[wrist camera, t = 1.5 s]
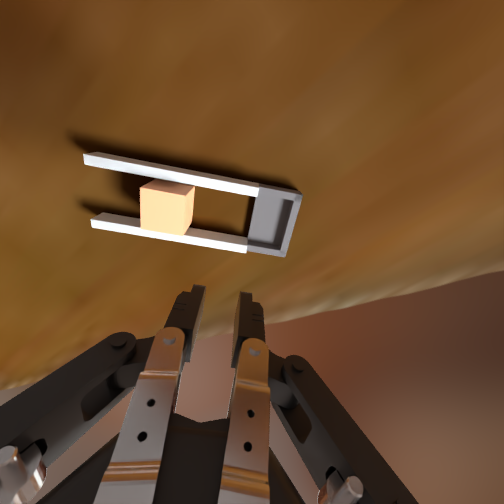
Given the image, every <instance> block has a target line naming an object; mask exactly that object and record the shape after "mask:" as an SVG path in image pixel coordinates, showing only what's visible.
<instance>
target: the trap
mask: <svg viewBox="0 0 504 504" xmlns="http://www.w3.org/2000/svg"><path fill="white" fill-rule="evenodd" d="M302 197H303V195H302V193H301V192H300V191H296V190H291V189H285V188H280V187H275V186H270V185H265V184H260V183H259V191H258V196H257V197H256V198H255V203H254V208H253V213H252V218H251V223H250V228H249V233H248V241H247V250H246V251H251V252H257V253H263V254H269V255H275V256H281V257H285V256H286V252H287V249H288V245H289V242H290V238H291V235H292V231H293V228H294V224H295V221H296V217H297V214H298V210H299V207H300V204H301V200H302Z"/></svg>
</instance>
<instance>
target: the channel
mask: <svg viewBox="0 0 504 504" xmlns="http://www.w3.org/2000/svg"><path fill="white" fill-rule="evenodd" d="M84 163H85V165H90V166H96V167H101V168H106V169H111V170H117V171H122V172H127V173H133V174H138V175H143V176H148V177H154V178H159V179H164V180H169V181H175V182H180V183H185V184H191V185H196V186H201V187H206V188H212V189H217V190H222V191H227V192H233V193H238V194H243V195H249V196H254V197H257V196H258V191H259V183H255V182H250V181H244V180H239V179H234V178H229V177H224V176H219V175H214V174H209V173H203V172H198V171H193V170H188V169H183V168H178V167H173V166H168V165H162V164H157V163H152V162H147V161H142V160H137V159H132V158H126V157H121V156H116V155H111V154H106V153H101V152H93V153H87V154H84ZM91 224H92V227H93V228H99V229H105V230H110V231H116V232H122V233H128V234H134V235H140V236H146V237H152V238H158V239H164V240H170V241H176V242H182V243H188V244H194V245H200V246H206V247H212V248H218V249H224V250H230V251H235V252H241V253H246V250H247V241H248V238H247V237H242V236H236V235H230V234H224V233H219V232H213V231H207V230H201V229H196V228H190V227H188V229H187V230H186V232H185V234H184V235H183V236H179V235H173V234H167V233H161V232H155V231H149V230H144V229H141V219H138V218H132V217H127V216H121V215H115V214H109V213H104V212H103V213H101V214H99V215H97V216H96V217H94V218H92V219H91Z"/></svg>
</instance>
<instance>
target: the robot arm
mask: <svg viewBox="0 0 504 504" xmlns="http://www.w3.org/2000/svg"><path fill="white" fill-rule="evenodd" d="M205 291H206V286H201V285H195V284H194V285H193V288H192V290H191V292H184V291H183V292H182V293H181V294H180V295H178V296H177V298H176V301H175V303H174V305H173V308H172V310H171V312H170V314H169V317H168V319H167V321H166V324H165V326H164V328H163V329H161V330H160V331H158V332H157V334H156V335H155V336H153V337H150V338H145V339H137V340H136V338H135V336H134V335H133V334H131V333H128V332H118V333H115V334H112V335H110V336H108V337H107V338H105V339H104V340H102V341H101V342H99V343H98V344H96V345H95V346H93V347H91V348H90V349H88V350H87V351H85V352H84V353H82V354H81V355H79V356H77V357H76V358H74V359H73V360H71V361H70V362H68V363H67V364H65V365H64V366H62V367H60V368H59V369H57V370H56V371H54V372H53V373H51V374H50V375H48V376H46V377H45V378H43V379H42V380H40V381H39V382H37V383H36V384H34V385H33V386H31V387H29V388H28V389H26V390H25V391H23V392H22V393H21V394H19V395H17V396H16V397H14V398H12V399H11V400H9V401H8V402H6V403H5V404H3V405H2V406H0V504H28V503H29V502H30V500H31V499H32V498H33V497H34V496H35V495H36V494H37V493H38V491H39V489H40V488H41V486H42V485H43V483H44V481H45V478H46V473H47V468H48V466H50V465H51V464H52V463H53V462H54V461H55V460H56V459H57V458H58V457H59V456H61V455H62V454H63V453H64V452H65V451H66V450H67V449H68V448H69V447H70V446H72V445H73V444H74V443H75V442H76V441H77V440H78V439H79V438H80V437H81V436H82V435H84V434H85V433H86V432H87V431H88V430H89V429H90V428H91V427H92V426H93V425H94V424H96V423H97V422H98V421H99V420H100V419H101V418H102V417H103V416H104V415H105V414H107V413H108V412H109V411H110V410H111V409H112V408H113V407H114V406H115V405H116V404H117V403H119V402H120V401H121V400H122V398H124V397H125V396H126V395H127V394H128V393H129V392H130V391H132V389H134V387H135V389H134V392H133V395H132V398H131V401H130V404H129V407H128V410H127V413H126V416H125V419H124V422H123V425H122V428H121V431H120V432H119V433H118V434H117V435H116V436H115V437H113V438H112V439H111V440H110V441H109V442H107V443H106V444H105V445H104V446H103V447H102V448H100V449H99V450H98V451H97V452H96V453H95V454H93V455H92V456H91V457H90V458H89V459H88V460H86V461H85V462H84V463H83V464H82V465H80V467H78V468H77V469H76V470H75V471H73V472H72V473H71V474H70V475H69V476H68V477H66V478H65V479H64V480H63V481H62V482H61V483H59V484H58V485H57V486H56V487H55V488H54V489H52V490H51V491H50V492H49V493H48V494H46V495H45V496H44V497H43V498H42V499H40V500H39V501H38V502H37V503H36V504H305V502H304V501H303V499H302V497H301V496H300V494H299V493H298V491H297V490H296V488H295V486H294V485H293V483H292V482H291V480H290V478H289V477H288V475H287V474H286V472H285V470H284V469H283V467H282V466H281V464H280V462H279V461H278V459H277V458H276V456H275V454H274V453H273V451H272V450H271V448H270V447H269V422H270V401H271V403H272V406H273V408H274V409H275V411H276V413H277V415H278V417H279V419H280V420H281V422H282V424H283V426H284V428H285V429H286V431H287V433H288V435H289V437H290V438H291V440H292V442H293V444H294V445H295V447H296V449H297V451H298V453H299V454H300V456H301V458H302V460H303V462H304V463H305V465H306V467H307V469H308V470H309V472H310V474H311V476H312V478H313V479H314V481H315V483H316V485H317V487H318V488H319V490H320V491H319V494H318V504H418V502H417V501H416V499H415V498H414V497H413V496H412V494H411V493H410V492H409V490H408V489H407V488H406V487H405V485H404V484H403V483H402V482H401V480H400V479H399V478H398V476H397V475H396V474H395V473H394V471H393V470H392V469H391V467H390V466H389V465H388V464H387V462H386V461H385V460H384V458H383V457H382V456H381V455H380V453H379V452H378V451H377V450H376V449H375V447H374V446H373V444H372V443H371V442H370V441H369V439H368V438H367V437H366V435H365V434H364V433H363V432H362V430H361V429H360V428H359V427H358V425H357V424H356V423H355V421H354V420H353V419H352V418H351V416H350V415H349V414H348V412H347V411H346V410H345V409H344V407H343V406H342V405H341V404H340V402H339V401H338V400H337V399H336V397H335V396H334V395H333V393H332V392H331V391H330V389H329V388H328V387H327V386H326V384H325V383H324V382H323V381H322V379H321V378H320V377H319V375H318V374H317V373H316V372H315V371H314V369H313V368H312V366H311V365H310V364H309V363H308V362H307V361H306V360H305V359H304V358H302V357H300V356H297V355H291V356H288V357H286V359H284V358H282V357H279V356H277V355H275V354H274V353H272V352H271V351H270V350H269V349H268V346H267V345H266V343H265V330H264V317H263V316H264V315H263V308H262V306H261V305H260V303H257V302H252V293H247V292H240V295H239V300H238V304H237V309H236V315H235V322H234V334H233V347H232V359H231V368H235V376H234V381H233V386H232V392H231V397H230V403H229V408H228V414H227V419H219V420H213V421H208V422H202V423H199V422H196V421H194V420H191V419H189V418H186V417H184V416H181V415H179V414H176V413H175V409H176V403H177V397H178V391H179V385H180V379H181V372H182V370H183V367H184V364H185V362H190V359H191V355H192V352H193V348H194V344H195V340H196V336H197V332H198V328H199V325H200V321H201V317H202V312H203V307H204V299H205Z"/></svg>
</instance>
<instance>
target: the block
mask: <svg viewBox="0 0 504 504" xmlns="http://www.w3.org/2000/svg"><path fill="white" fill-rule="evenodd" d="M194 190H195V186H191V185H186V184H181V183H176V182H170V181H165V180H160V179H154V180H153V181H151V182H149V183H147V184H145V185H144V186H142V187H140V214H141V229H144V230H149V231H155V232H161V233H167V234H173V235H179V236H183V235H184V234H185V232H186V230H187V229H188V227H189V226H190V224H191V222H192V214H193V202H194Z"/></svg>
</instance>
